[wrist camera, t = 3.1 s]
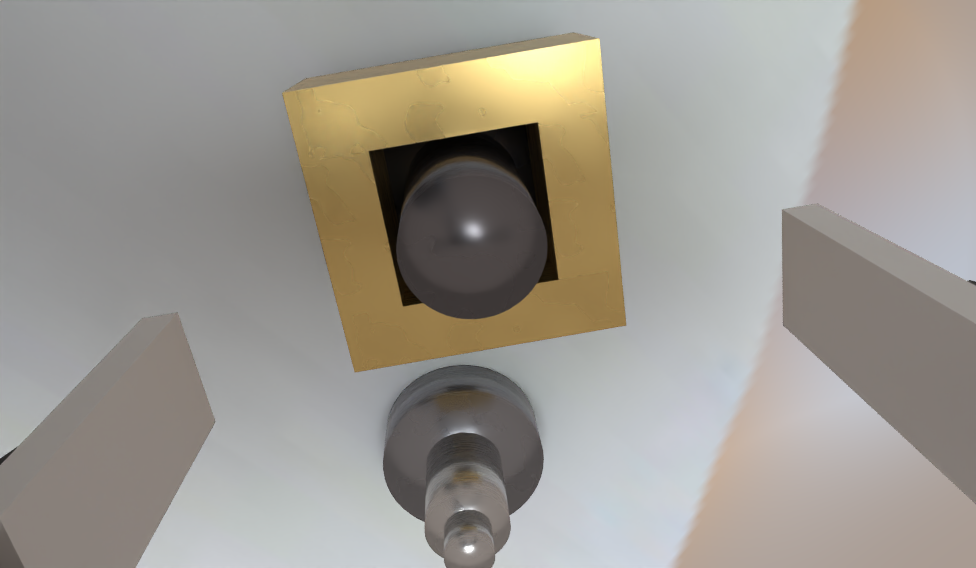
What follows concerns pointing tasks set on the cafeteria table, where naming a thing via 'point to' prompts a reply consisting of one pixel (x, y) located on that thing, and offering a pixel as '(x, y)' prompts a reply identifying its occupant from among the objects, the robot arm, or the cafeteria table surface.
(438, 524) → the cylinder
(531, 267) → the dark grey round-headed cylinder
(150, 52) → the cafeteria table surface
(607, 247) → the gold square ring
